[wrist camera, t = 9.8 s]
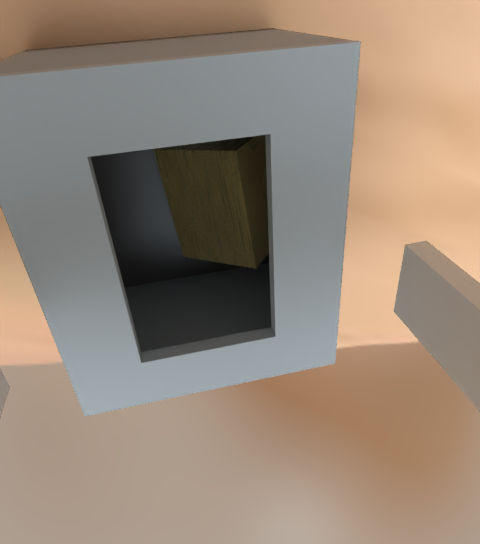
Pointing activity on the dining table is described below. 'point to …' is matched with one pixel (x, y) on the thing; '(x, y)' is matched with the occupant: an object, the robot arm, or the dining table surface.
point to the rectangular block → (218, 199)
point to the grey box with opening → (156, 212)
